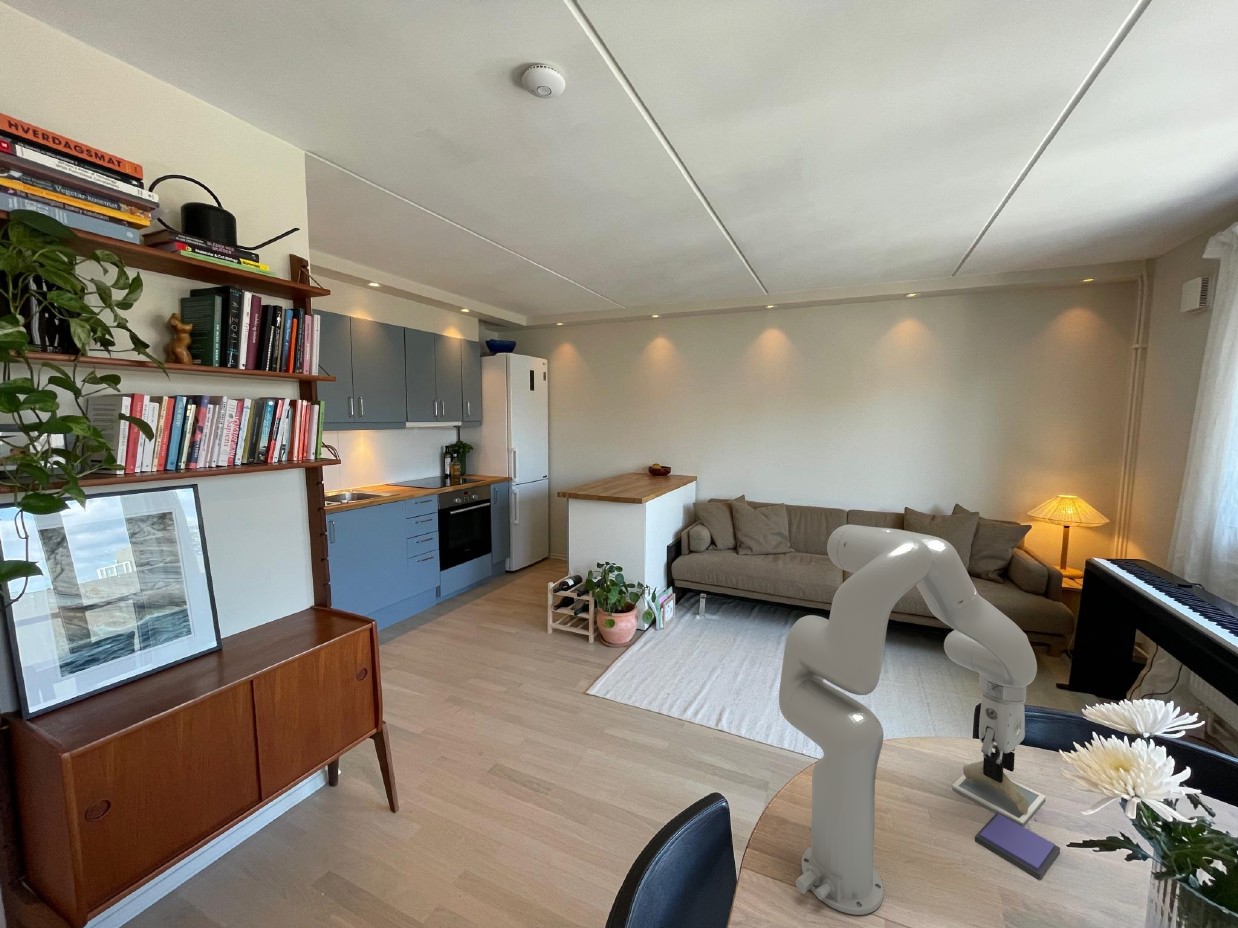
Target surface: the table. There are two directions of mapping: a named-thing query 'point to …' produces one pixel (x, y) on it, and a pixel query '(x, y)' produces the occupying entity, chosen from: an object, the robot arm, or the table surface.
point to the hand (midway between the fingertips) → (998, 771)
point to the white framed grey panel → (999, 799)
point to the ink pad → (1018, 845)
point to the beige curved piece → (997, 785)
